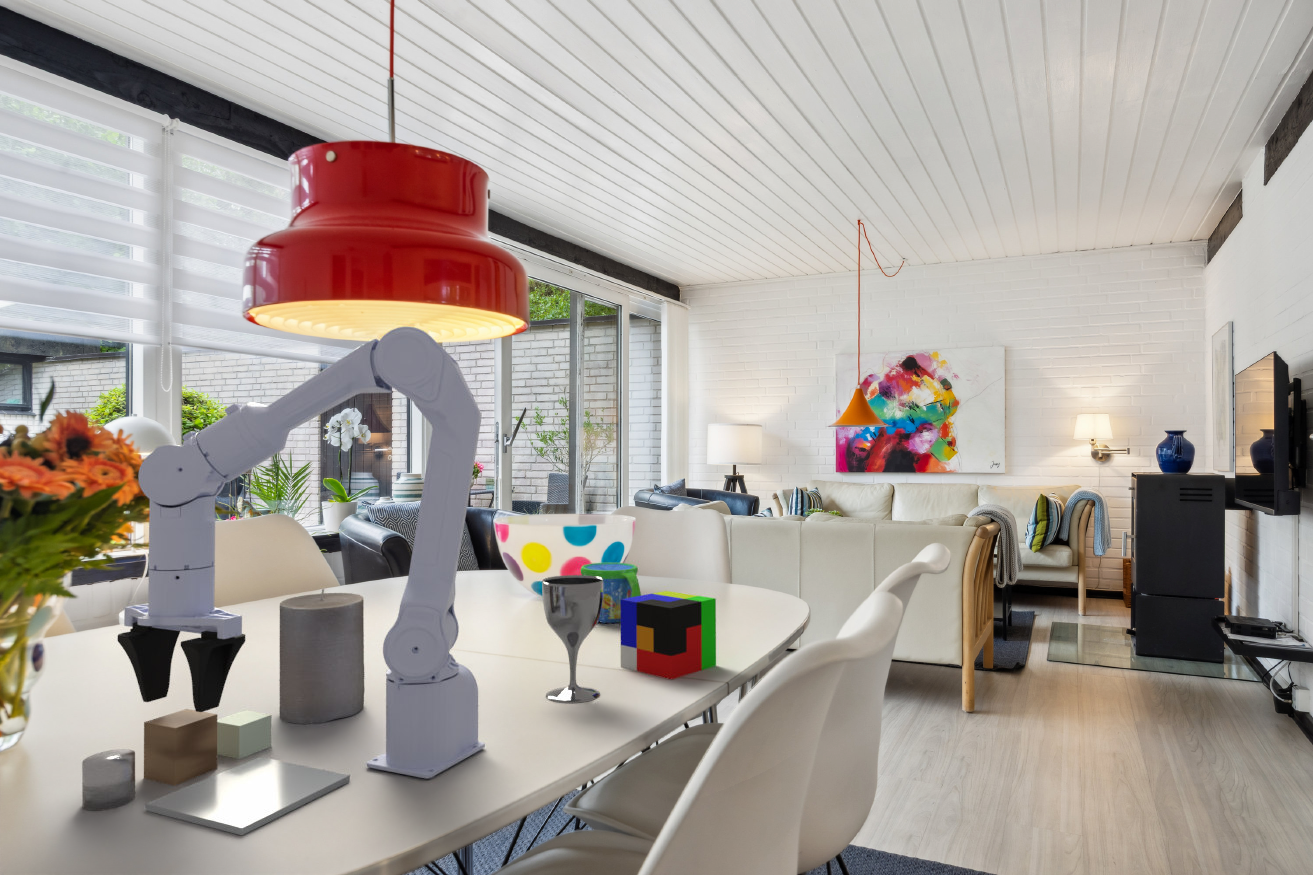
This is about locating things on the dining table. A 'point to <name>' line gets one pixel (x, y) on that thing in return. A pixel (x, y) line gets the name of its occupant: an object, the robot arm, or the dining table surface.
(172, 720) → the walnut block
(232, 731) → the sage box
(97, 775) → the grey cylinder
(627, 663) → the puzzle toy
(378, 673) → the dining table surface
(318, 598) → the pillar candle
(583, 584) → the wine glass
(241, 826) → the slate tile
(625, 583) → the snack cup
